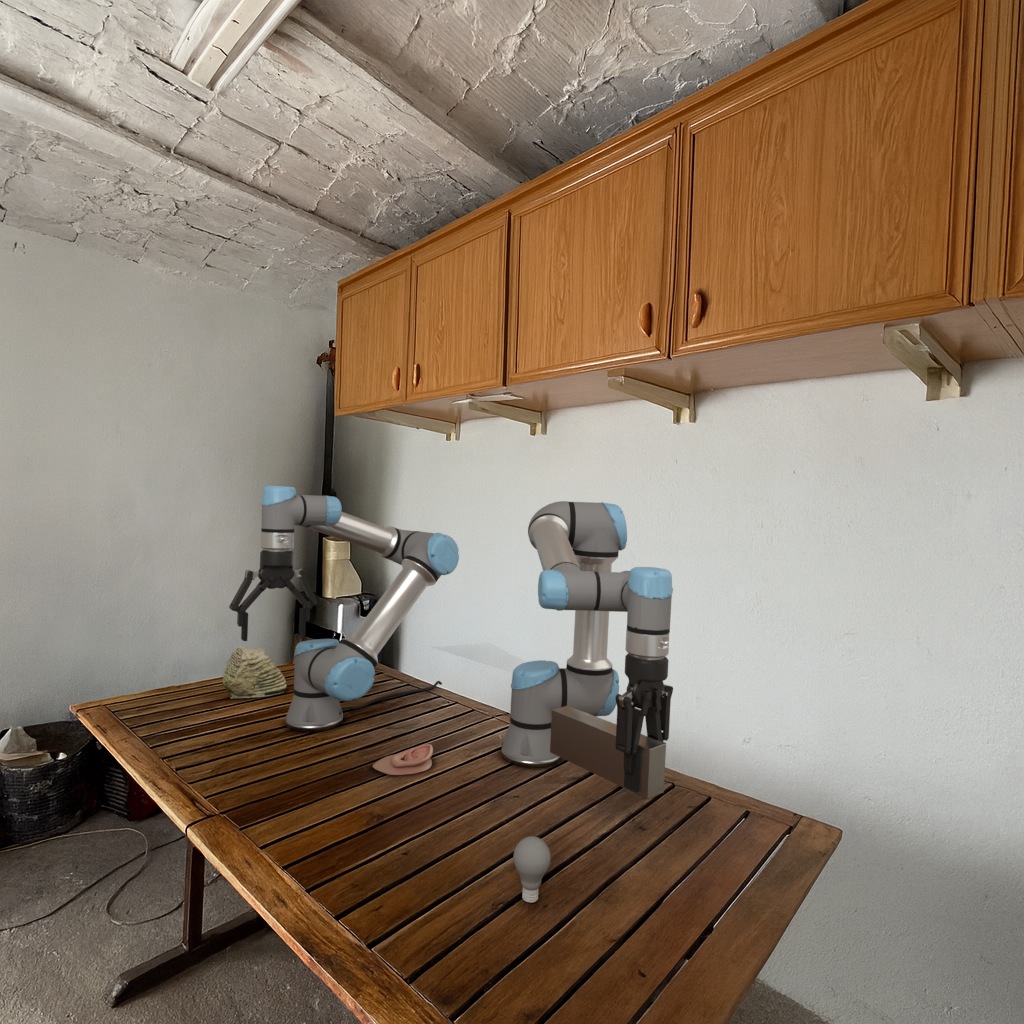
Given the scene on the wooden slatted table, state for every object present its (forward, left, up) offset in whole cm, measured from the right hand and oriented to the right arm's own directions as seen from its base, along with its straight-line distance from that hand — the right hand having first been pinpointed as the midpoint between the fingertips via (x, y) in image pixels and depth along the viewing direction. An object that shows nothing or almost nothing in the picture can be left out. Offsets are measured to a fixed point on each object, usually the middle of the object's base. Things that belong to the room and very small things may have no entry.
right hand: (640, 785), depth 113 cm
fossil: (+52, -123, -15) cm, 134 cm away
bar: (+2, -9, -1) cm, 9 cm away
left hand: (+53, -74, +14) cm, 92 cm away
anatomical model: (+26, -56, -15) cm, 63 cm away
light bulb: (+22, +1, -15) cm, 27 cm away
